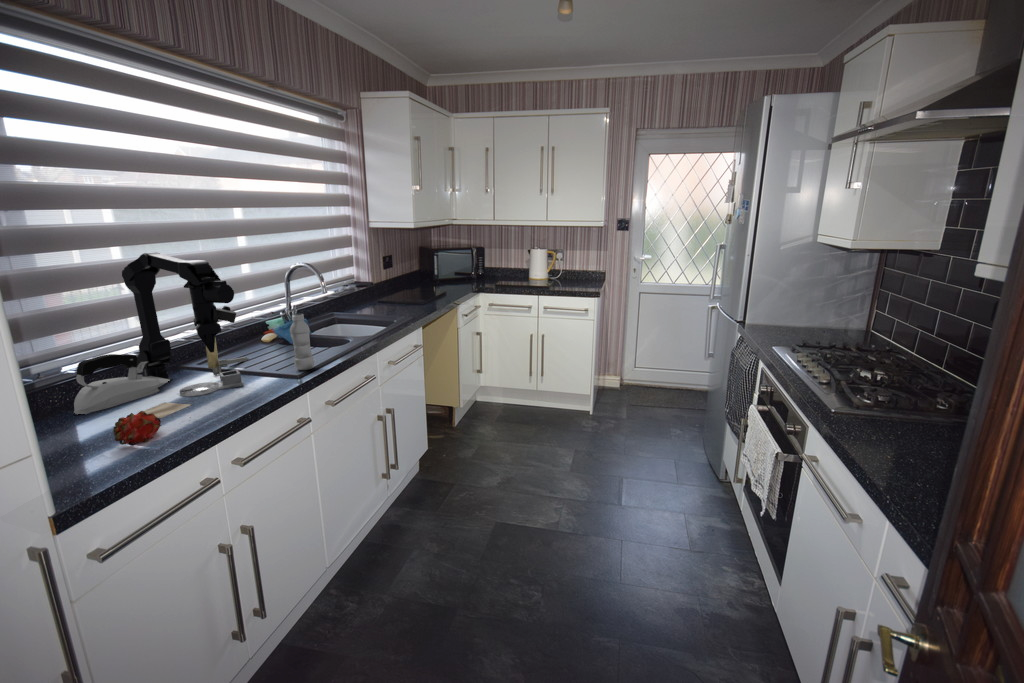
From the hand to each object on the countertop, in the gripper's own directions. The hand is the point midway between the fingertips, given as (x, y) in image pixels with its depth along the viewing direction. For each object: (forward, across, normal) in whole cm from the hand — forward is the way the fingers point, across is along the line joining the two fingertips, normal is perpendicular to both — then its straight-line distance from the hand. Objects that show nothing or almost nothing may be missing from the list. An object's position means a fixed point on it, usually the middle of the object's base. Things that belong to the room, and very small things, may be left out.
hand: (211, 351), depth 163 cm
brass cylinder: (+5, -1, 0) cm, 5 cm away
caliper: (+14, +26, -7) cm, 30 cm away
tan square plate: (+13, -12, +15) cm, 23 cm away
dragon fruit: (+13, -32, +20) cm, 40 cm away
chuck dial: (+13, +1, +2) cm, 13 cm away
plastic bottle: (+13, +5, -28) cm, 31 cm away
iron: (+13, +8, +26) cm, 30 cm away
